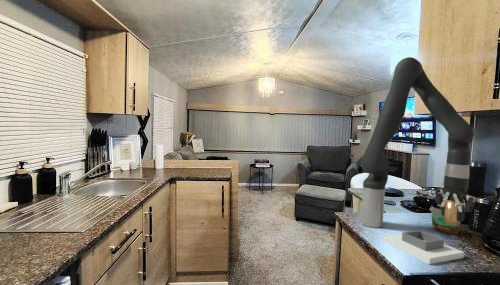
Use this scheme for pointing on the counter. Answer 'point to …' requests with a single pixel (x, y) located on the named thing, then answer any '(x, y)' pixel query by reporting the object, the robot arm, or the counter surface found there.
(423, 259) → the white board with frame
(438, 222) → the food container
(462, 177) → the robot arm
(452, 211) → the spout can
